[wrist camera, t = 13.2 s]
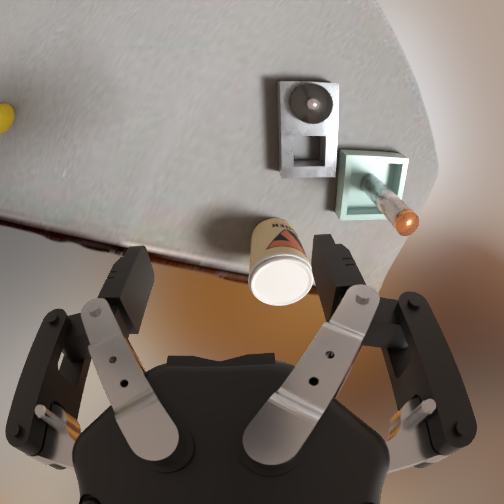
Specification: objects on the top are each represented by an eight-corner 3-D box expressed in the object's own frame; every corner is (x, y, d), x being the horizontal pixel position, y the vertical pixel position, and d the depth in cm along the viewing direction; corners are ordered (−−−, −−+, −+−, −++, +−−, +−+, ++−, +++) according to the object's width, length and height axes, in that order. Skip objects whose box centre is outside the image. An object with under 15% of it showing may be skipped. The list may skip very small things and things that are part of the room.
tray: (339, 149, 40) (346, 155, 37) (399, 152, 40) (408, 158, 37) (334, 211, 46) (339, 220, 44) (390, 210, 46) (397, 218, 44)
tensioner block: (276, 80, 33) (281, 81, 29) (332, 82, 33) (343, 84, 29) (279, 171, 42) (283, 182, 38) (329, 170, 42) (338, 181, 38)
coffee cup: (311, 229, 48) (328, 275, 38) (279, 266, 52) (288, 314, 43) (266, 203, 45) (274, 246, 35) (236, 244, 49) (235, 293, 40)
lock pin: (361, 173, 41) (400, 213, 31) (379, 174, 41) (421, 212, 31) (359, 192, 43) (395, 236, 33) (376, 192, 43) (415, 235, 33)
